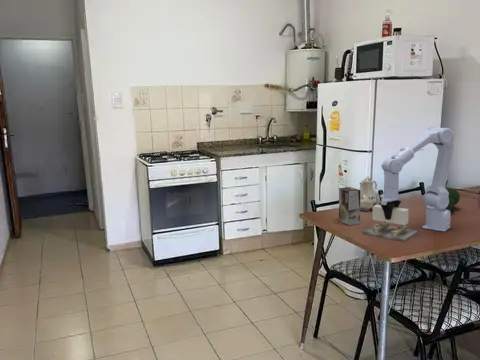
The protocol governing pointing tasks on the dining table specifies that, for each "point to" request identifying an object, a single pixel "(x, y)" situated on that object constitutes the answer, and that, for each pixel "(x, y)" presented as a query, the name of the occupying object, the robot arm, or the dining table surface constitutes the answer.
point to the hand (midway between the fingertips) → (390, 218)
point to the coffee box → (349, 205)
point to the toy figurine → (452, 198)
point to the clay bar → (397, 215)
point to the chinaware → (368, 194)
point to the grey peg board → (390, 231)
